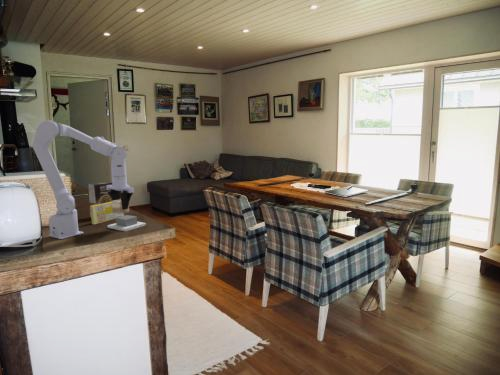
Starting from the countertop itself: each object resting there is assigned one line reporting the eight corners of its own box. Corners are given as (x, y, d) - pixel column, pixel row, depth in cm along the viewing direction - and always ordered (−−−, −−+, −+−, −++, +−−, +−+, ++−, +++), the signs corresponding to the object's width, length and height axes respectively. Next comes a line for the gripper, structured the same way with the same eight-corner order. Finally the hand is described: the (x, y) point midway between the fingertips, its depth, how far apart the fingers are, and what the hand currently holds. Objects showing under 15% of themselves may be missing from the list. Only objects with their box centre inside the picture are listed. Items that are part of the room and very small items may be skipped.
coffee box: (97, 219, 163) (95, 184, 160) (89, 217, 167) (87, 183, 164) (115, 215, 170) (113, 182, 168) (107, 213, 174) (105, 181, 171)
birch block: (120, 214, 144) (119, 201, 143) (112, 212, 146) (112, 200, 145) (129, 211, 148) (128, 200, 147) (121, 210, 150) (121, 198, 149)
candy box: (121, 216, 169) (120, 199, 168) (124, 217, 168) (123, 199, 167) (91, 224, 156) (89, 205, 154) (94, 224, 154) (92, 206, 153)
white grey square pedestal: (125, 231, 144) (124, 221, 143) (107, 227, 149) (107, 218, 149) (146, 225, 153) (145, 216, 152) (128, 221, 159) (128, 213, 158)
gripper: (139, 175, 144) (141, 208, 147) (115, 173, 152) (117, 204, 154) (125, 177, 138) (127, 211, 141) (101, 175, 146) (103, 207, 148)
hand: (121, 208), depth 147 cm, fingers closed on birch block, 4 cm apart
